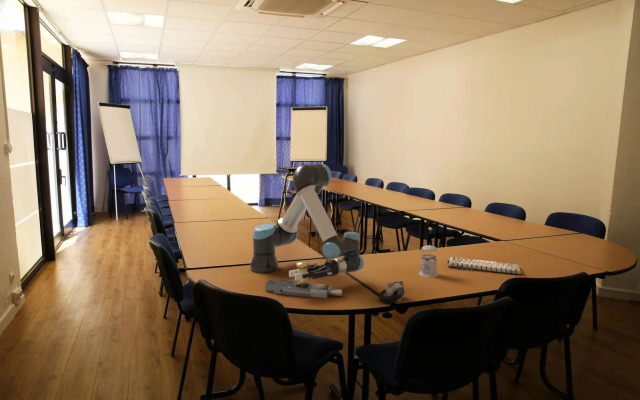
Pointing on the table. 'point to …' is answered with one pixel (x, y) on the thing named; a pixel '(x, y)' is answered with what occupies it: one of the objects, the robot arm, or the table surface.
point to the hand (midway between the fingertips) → (292, 275)
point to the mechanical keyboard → (483, 266)
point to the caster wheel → (392, 293)
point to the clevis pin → (302, 268)
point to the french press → (428, 270)
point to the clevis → (301, 289)
